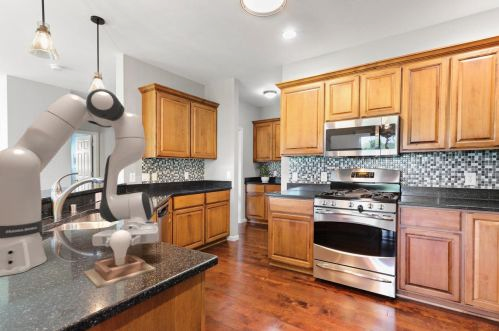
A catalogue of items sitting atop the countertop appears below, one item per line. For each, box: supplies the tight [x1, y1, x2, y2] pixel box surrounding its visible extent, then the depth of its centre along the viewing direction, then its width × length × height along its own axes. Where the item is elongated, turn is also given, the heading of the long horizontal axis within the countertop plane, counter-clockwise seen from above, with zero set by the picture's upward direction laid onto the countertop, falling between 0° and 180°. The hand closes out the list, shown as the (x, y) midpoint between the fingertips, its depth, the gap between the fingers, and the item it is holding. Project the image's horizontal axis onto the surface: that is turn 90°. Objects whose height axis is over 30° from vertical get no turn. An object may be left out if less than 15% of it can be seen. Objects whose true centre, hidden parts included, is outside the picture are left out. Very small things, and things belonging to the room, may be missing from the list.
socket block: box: [83, 253, 156, 289], centre depth 77 cm, size 16×14×3 cm
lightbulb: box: [110, 229, 132, 266], centre depth 77 cm, size 6×6×11 cm
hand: (119, 243), depth 76 cm, fingers closed on lightbulb, 5 cm apart
